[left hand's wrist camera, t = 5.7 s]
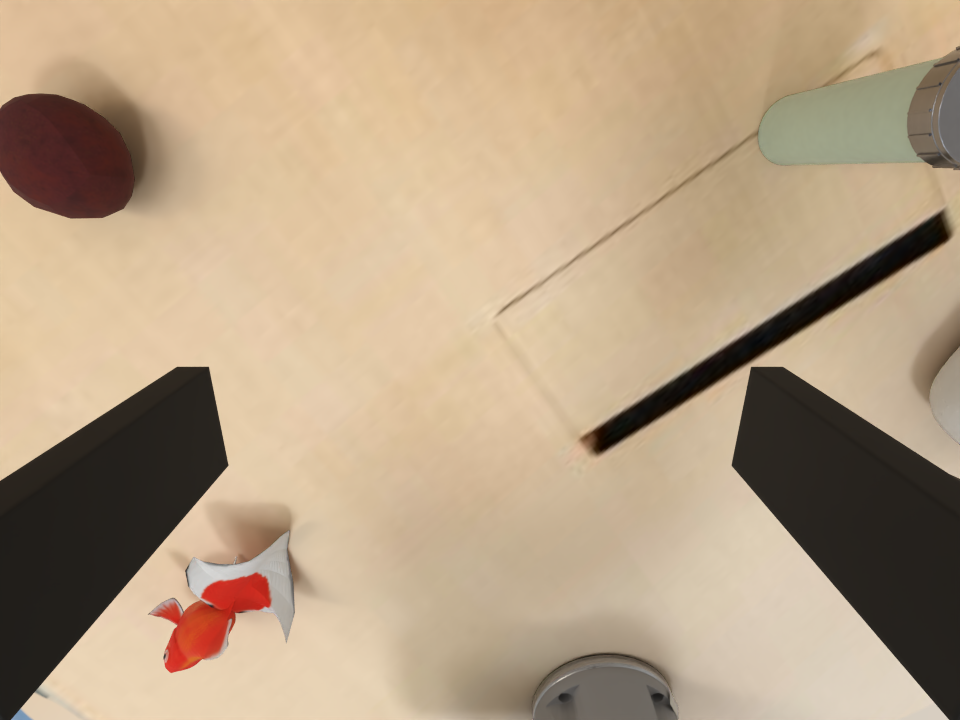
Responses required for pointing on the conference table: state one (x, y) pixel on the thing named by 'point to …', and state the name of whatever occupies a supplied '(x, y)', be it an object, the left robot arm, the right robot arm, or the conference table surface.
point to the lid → (937, 114)
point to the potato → (64, 157)
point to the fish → (227, 603)
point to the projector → (947, 396)
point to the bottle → (845, 121)
